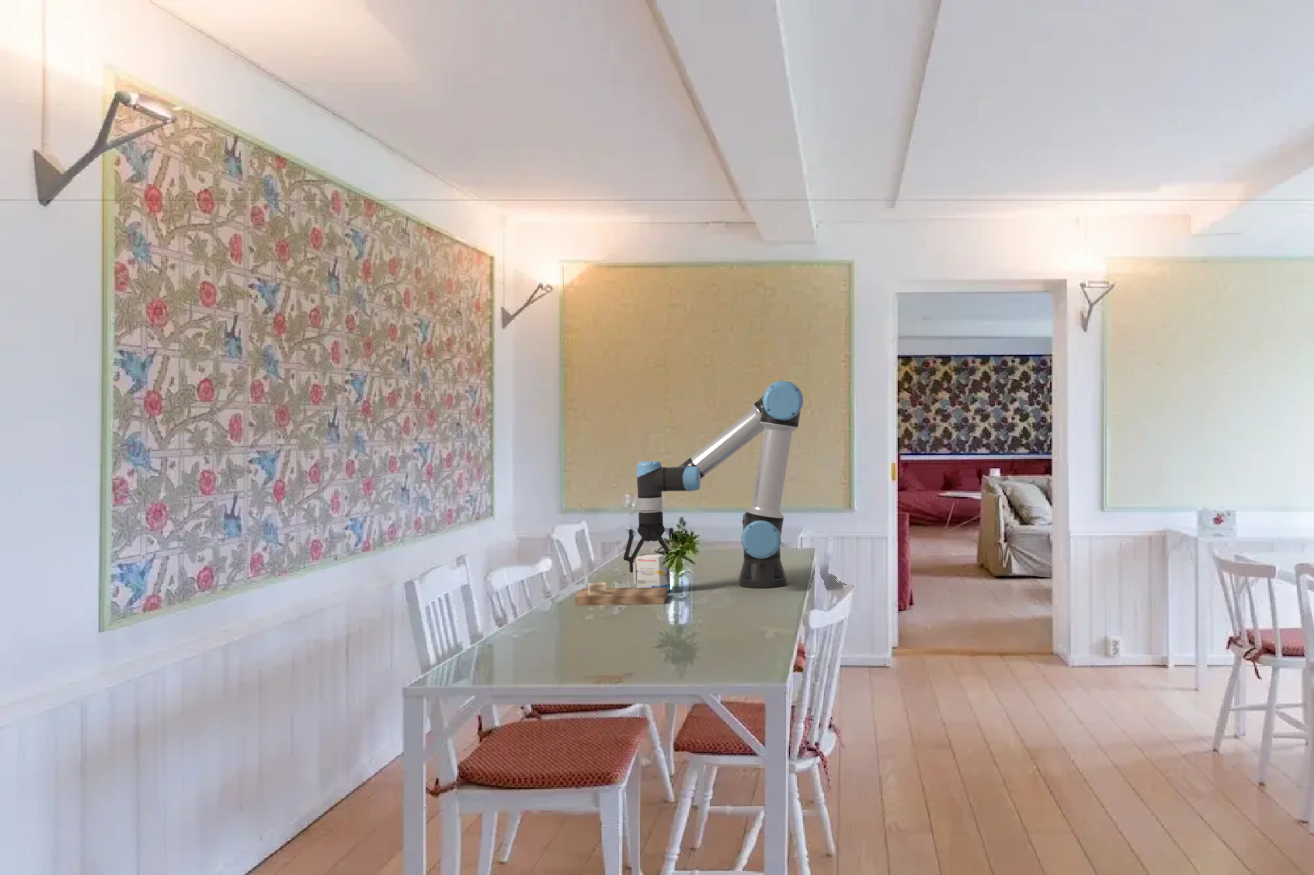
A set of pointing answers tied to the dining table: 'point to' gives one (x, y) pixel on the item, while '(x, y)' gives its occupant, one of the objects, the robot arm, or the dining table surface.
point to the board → (624, 596)
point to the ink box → (651, 571)
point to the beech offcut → (597, 588)
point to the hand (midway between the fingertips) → (653, 582)
